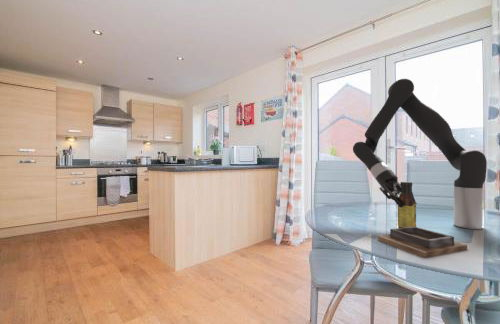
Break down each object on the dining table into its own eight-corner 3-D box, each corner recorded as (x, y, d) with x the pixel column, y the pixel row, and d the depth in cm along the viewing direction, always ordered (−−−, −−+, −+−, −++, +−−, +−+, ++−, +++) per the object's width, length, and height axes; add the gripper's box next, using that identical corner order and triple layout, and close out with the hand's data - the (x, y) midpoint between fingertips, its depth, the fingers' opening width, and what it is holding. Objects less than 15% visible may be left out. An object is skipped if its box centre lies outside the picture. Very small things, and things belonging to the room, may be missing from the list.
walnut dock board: (417, 234, 91) (417, 224, 91) (467, 249, 76) (467, 237, 76) (378, 240, 84) (378, 229, 84) (424, 257, 69) (424, 244, 69)
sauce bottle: (419, 233, 92) (419, 183, 92) (401, 232, 93) (402, 182, 93) (411, 228, 99) (411, 181, 98) (394, 228, 100) (395, 181, 100)
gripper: (376, 169, 101) (402, 201, 90) (400, 169, 106) (427, 199, 95) (366, 180, 106) (389, 212, 95) (389, 179, 111) (414, 209, 100)
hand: (408, 205), depth 95 cm, fingers closed on sauce bottle, 6 cm apart
